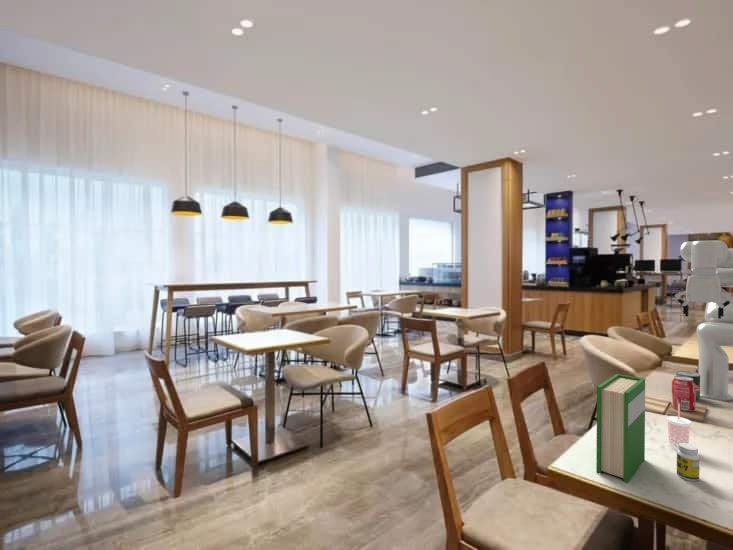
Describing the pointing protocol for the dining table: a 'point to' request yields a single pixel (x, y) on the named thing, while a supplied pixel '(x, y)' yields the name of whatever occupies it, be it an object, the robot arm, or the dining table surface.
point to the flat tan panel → (656, 404)
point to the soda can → (683, 393)
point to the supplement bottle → (688, 462)
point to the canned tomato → (695, 378)
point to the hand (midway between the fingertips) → (702, 317)
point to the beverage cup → (678, 430)
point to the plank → (690, 413)
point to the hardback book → (621, 426)
